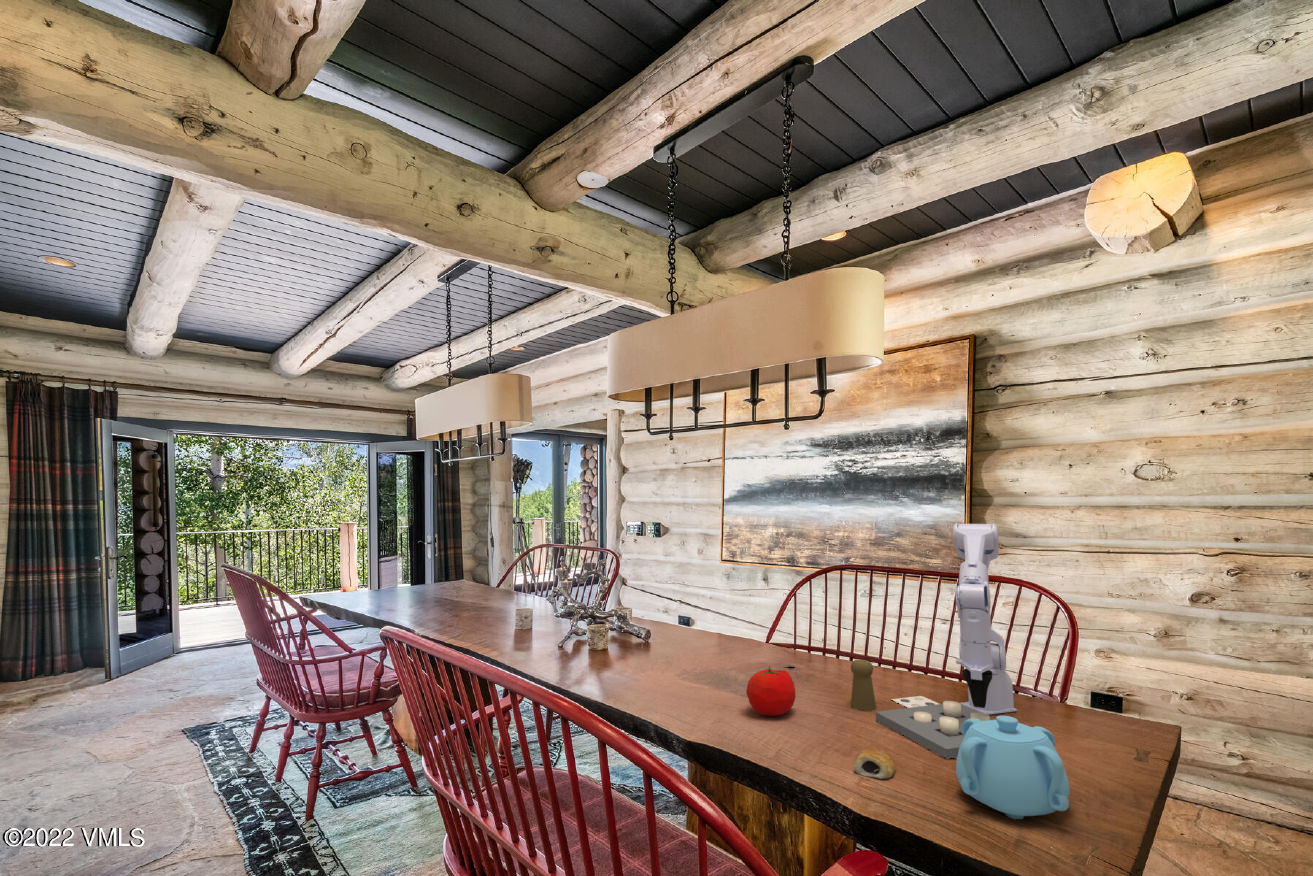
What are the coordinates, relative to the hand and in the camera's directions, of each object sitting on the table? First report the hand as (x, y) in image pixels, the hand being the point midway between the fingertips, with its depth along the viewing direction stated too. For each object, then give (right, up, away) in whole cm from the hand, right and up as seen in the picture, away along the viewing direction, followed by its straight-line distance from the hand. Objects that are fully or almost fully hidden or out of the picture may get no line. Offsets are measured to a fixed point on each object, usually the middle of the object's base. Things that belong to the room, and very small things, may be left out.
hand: (979, 706), depth 130 cm
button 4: (-8, -5, -3) cm, 9 cm away
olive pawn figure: (-18, -9, +19) cm, 28 cm away
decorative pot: (-10, -4, -28) cm, 30 cm away
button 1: (-2, -6, +7) cm, 9 cm away
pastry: (-28, -6, -16) cm, 32 cm away
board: (-5, -7, +2) cm, 8 cm away
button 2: (0, -5, 0) cm, 5 cm away
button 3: (-10, -7, +5) cm, 13 cm away
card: (-4, -9, +21) cm, 23 cm away
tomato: (-41, -9, +15) cm, 45 cm away
